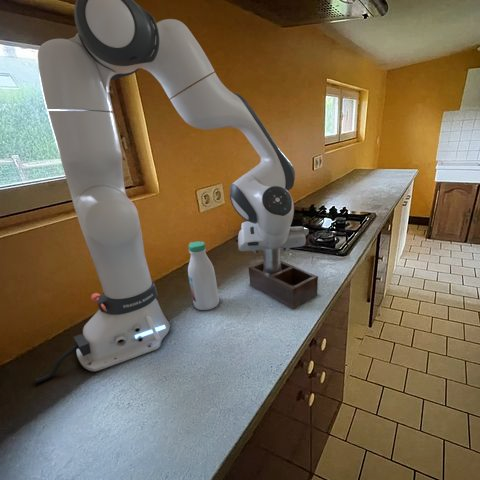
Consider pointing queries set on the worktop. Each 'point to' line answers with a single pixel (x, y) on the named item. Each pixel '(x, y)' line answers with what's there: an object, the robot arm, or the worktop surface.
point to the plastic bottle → (271, 261)
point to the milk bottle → (202, 278)
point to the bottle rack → (285, 284)
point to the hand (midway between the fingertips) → (270, 249)
